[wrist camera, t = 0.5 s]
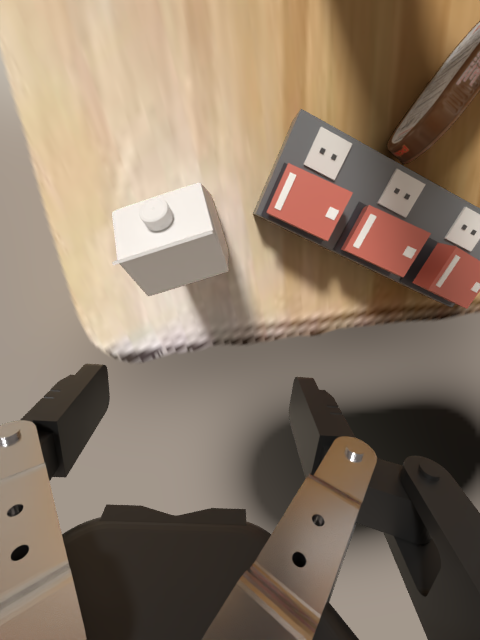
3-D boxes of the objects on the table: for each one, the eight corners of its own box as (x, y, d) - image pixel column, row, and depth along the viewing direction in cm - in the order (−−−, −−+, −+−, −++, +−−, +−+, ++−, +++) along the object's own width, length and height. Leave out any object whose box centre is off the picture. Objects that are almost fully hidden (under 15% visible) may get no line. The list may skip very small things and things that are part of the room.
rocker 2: (363, 207, 33) (369, 204, 31) (421, 233, 33) (431, 233, 30) (341, 249, 34) (344, 249, 32) (395, 274, 34) (403, 277, 32)
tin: (389, 170, 36) (435, 158, 28) (370, 153, 35) (411, 136, 27) (485, 43, 32) (570, -13, 24) (466, 21, 31) (546, -44, 23)
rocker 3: (437, 242, 33) (457, 246, 31) (475, 265, 36) (495, 270, 33) (412, 282, 35) (429, 289, 32) (449, 301, 37) (467, 308, 35)
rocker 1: (288, 168, 31) (288, 162, 29) (348, 196, 31) (353, 192, 29) (267, 214, 33) (266, 212, 30) (325, 241, 33) (328, 240, 30)
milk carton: (228, 250, 38) (228, 282, 21) (177, 266, 39) (134, 311, 21) (211, 193, 36) (194, 174, 18) (156, 211, 37) (87, 209, 19)
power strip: (293, 120, 34) (302, 106, 29) (482, 224, 38) (515, 225, 34) (252, 213, 37) (256, 213, 33) (432, 299, 42) (456, 309, 37)
